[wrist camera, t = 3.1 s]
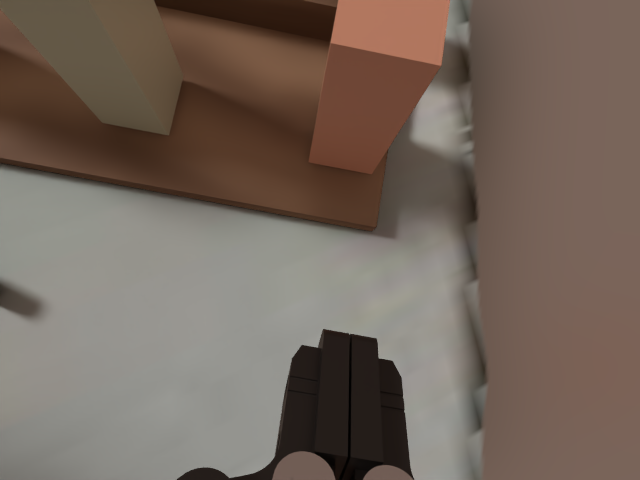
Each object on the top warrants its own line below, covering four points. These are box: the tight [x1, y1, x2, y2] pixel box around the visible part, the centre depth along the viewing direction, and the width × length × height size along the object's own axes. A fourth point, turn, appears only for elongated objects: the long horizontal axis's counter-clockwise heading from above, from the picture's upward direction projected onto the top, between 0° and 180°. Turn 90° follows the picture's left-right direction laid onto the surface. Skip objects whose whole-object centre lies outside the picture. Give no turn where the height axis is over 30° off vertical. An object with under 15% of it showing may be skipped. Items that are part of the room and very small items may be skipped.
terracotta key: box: [308, 0, 450, 174], centre depth 20 cm, size 4×4×11 cm
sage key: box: [0, 0, 183, 136], centre depth 19 cm, size 4×4×11 cm
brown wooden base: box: [0, 0, 388, 231], centre depth 25 cm, size 13×27×4 cm, turn 80°
